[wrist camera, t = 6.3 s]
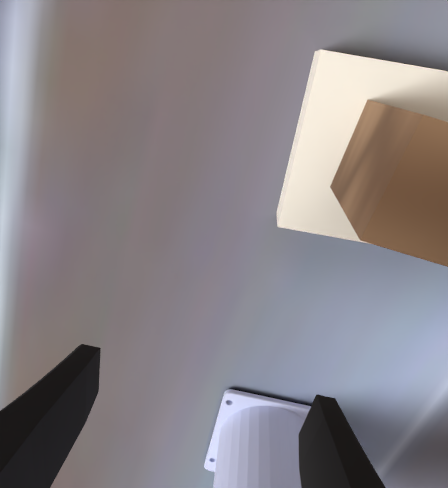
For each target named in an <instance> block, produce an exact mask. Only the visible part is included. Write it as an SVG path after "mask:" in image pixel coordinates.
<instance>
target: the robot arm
mask: <svg viewBox="0 0 448 488" xmlns="http://www.w3.org/2000/svg"><path fill="white" fill-rule="evenodd" d="M99 368H100V348H98V347H93V346H89V345H84V344H82V345H80V346H78V347H77V348H76V349H75V350H74V351H73V352H72V353H71V354H69V355H68V356H67V357H66V358H65V359H64V360H63V361H62V362H60V363H59V364H58V365H57V366H56V367H55V368H54V369H52V370H51V371H50V372H49V373H48V374H47V375H45V376H44V377H43V378H42V379H41V380H39V381H38V382H37V383H36V384H34V385H33V386H32V387H31V388H29V389H28V390H27V391H26V392H25V393H23V394H22V395H21V396H19V397H18V398H17V399H16V400H14V401H13V402H12V403H10V404H9V405H8V406H6V407H5V408H3V409H2V410H1V411H0V488H50V487H51V485H52V483H53V481H54V479H55V478H56V476H57V474H58V472H59V470H60V468H61V467H62V465H63V463H64V461H65V459H66V458H67V456H68V454H69V452H70V450H71V448H72V447H73V445H74V443H75V441H76V439H77V437H78V436H79V434H80V432H81V430H82V428H83V426H84V424H85V422H86V420H87V418H88V415H89V413H90V411H91V408H92V406H93V404H94V401H95V399H96V396H97V394H98V390H99ZM228 400H230V401H228ZM204 467H205V469H207V470H209V471H213V472H215V477H214V486H213V488H385V486H384V484H383V483H382V481H381V479H380V478H379V476H378V475H377V473H376V471H375V469H374V468H373V466H372V464H371V463H370V461H369V459H368V458H367V456H366V454H365V452H364V451H363V449H362V447H361V445H360V444H359V442H358V440H357V438H356V436H355V434H354V433H353V431H352V429H351V427H350V425H349V423H348V422H347V420H346V418H345V416H344V414H343V412H342V410H341V408H340V407H339V405H338V403H337V401H336V400H335V398H330V397H325V396H321V395H316V397H315V399H314V401H313V404H312V406H307V405H302V404H298V403H293V402H288V401H284V400H279V399H274V398H270V397H265V396H260V395H256V394H251V393H247V392H242V391H237V390H233V389H229V390H226V391H225V392H224V395H223V399H222V402H221V406H220V410H219V413H218V417H217V420H216V424H215V428H214V431H213V435H212V438H211V442H210V445H209V449H208V453H207V456H206V460H205V465H204Z"/></svg>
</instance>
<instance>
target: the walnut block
mask: <svg viewBox="0 0 448 488" xmlns="http://www.w3.org/2000/svg"><path fill="white" fill-rule="evenodd" d="M330 188H331V190H332V191H333V193H334V195H335V197H336V198H337V200H338V202H339V204H340V206H341V207H342V209H343V211H344V213H345V214H346V216H347V218H348V220H349V222H350V223H351V225H352V227H353V229H354V231H355V232H356V234H357V236H358V238H359V239H360V240H361V241H364V242H367V243H371V244H374V245H377V246H381V247H384V248H387V249H391V250H394V251H397V252H401V253H404V254H407V255H411V256H414V257H417V258H421V259H424V260H427V261H431V262H434V263H437V264H441V265H444V266H447V267H448V122H446V121H442V120H439V119H436V118H433V117H430V116H426V115H423V114H419V113H416V112H412V111H408V110H404V109H401V108H397V107H393V106H390V105H386V104H382V103H378V102H375V101H371V100H367V102H366V104H365V106H364V109H363V111H362V113H361V116H360V118H359V120H358V123H357V125H356V127H355V130H354V132H353V134H352V137H351V139H350V141H349V144H348V146H347V148H346V151H345V153H344V155H343V158H342V160H341V162H340V165H339V167H338V169H337V172H336V174H335V176H334V179H333V181H332V183H331V186H330Z"/></svg>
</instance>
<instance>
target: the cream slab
mask: <svg viewBox="0 0 448 488" xmlns="http://www.w3.org/2000/svg"><path fill="white" fill-rule="evenodd" d="M367 100H371V101H375V102H378V103H382V104H386V105H390V106H393V107H397V108H401V109H404V110H408V111H412V112H416V113H419V114H423V115H426V116H430V117H433V118H436V119H439V120H442V121H446V122H448V71H443V70H437V69H431V68H426V67H420V66H414V65H408V64H402V63H396V62H390V61H385V60H379V59H373V58H367V57H361V56H355V55H350V54H344V53H338V52H332V51H326V50H319V51H316V52H315V54H314V58H313V62H312V66H311V71H310V75H309V79H308V83H307V87H306V92H305V96H304V100H303V104H302V108H301V113H300V117H299V121H298V125H297V129H296V134H295V138H294V142H293V146H292V150H291V155H290V159H289V163H288V167H287V171H286V176H285V180H284V184H283V188H282V192H281V197H280V201H279V205H278V209H277V224H278V227H282V228H287V229H293V230H298V231H303V232H309V233H314V234H320V235H325V236H331V237H336V238H342V239H347V240H353V241H358V242H364V241H361V240H360V239H359V238H358V236H357V234H356V232H355V231H354V229H353V227H352V225H351V223H350V222H349V220H348V218H347V216H346V214H345V213H344V211H343V209H342V207H341V206H340V204H339V202H338V200H337V198H336V197H335V195H334V193H333V191H332V190H331V188H330V186H331V183H332V181H333V179H334V176H335V174H336V172H337V169H338V167H339V165H340V162H341V160H342V158H343V155H344V153H345V151H346V148H347V146H348V144H349V141H350V139H351V137H352V134H353V132H354V130H355V127H356V125H357V123H358V120H359V118H360V116H361V113H362V111H363V109H364V106H365V104H366V102H367ZM364 243H367V242H364ZM369 244H371V243H369Z"/></svg>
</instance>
